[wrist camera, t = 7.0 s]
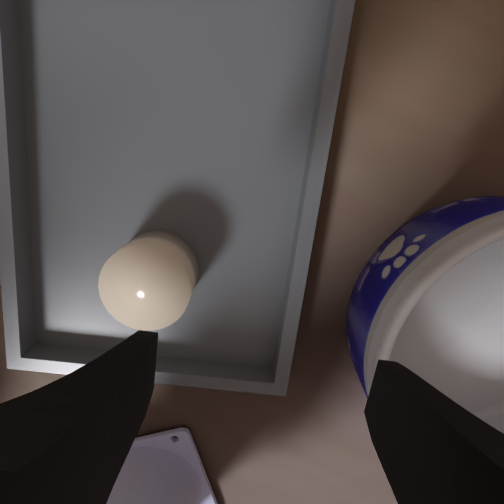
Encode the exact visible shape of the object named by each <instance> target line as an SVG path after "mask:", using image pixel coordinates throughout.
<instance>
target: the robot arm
mask: <svg viewBox="0 0 504 504" xmlns="http://www.w3.org/2000/svg"><path fill="white" fill-rule="evenodd" d="M157 344H158V332H151V331H142V330H139V331H137V332H135V333H134V334H132V335H131V336H129V337H128V338H127V339H125V340H124V341H122V342H121V343H119V344H118V345H116V346H115V347H113V348H112V349H110V350H109V351H107V352H105V353H104V354H102V355H101V356H99V357H98V358H96V359H94V360H93V361H91V362H89V363H87V364H86V365H84V366H82V367H80V368H79V369H77V370H75V371H74V372H72V373H70V374H68V375H66V376H64V377H62V378H60V379H58V380H56V381H54V382H52V383H50V384H48V385H46V386H43V387H41V388H39V389H37V390H34V391H32V392H30V393H27V394H24V395H22V396H19V397H17V398H14V399H11V400H9V401H6V402H4V403H1V404H0V504H218V503H217V500H216V498H215V495H214V493H213V490H212V487H211V485H210V482H209V480H208V477H207V474H206V472H205V469H204V467H203V464H202V461H201V459H200V456H199V454H198V451H197V448H196V446H195V443H194V441H193V438H192V435H191V433H190V431H189V430H188V429H187V428H184V427H181V428H176V429H172V430H168V431H163V432H159V433H155V434H150V435H146V436H142V437H137V438H136V435H137V433H138V431H139V429H140V426H141V424H142V422H143V420H144V417H145V415H146V412H147V409H148V405H149V402H150V399H151V396H152V392H153V389H154V381H155V369H156V356H157ZM364 413H365V417H366V421H367V425H368V429H369V432H370V436H371V439H372V442H373V445H374V447H375V450H376V452H377V455H378V457H379V460H380V462H381V464H382V467H383V469H384V472H385V474H386V476H387V479H388V481H389V483H390V486H391V488H392V490H393V493H394V495H395V498H396V500H397V502H398V504H504V433H502V432H500V431H499V430H497V429H495V428H494V427H492V426H490V425H489V424H487V423H486V422H484V421H483V420H481V419H480V418H478V417H477V416H475V415H474V414H472V413H470V412H469V411H467V410H466V409H464V408H463V407H462V406H460V405H459V404H457V403H456V402H454V401H453V400H451V399H450V398H449V397H447V396H446V395H444V394H443V393H442V392H440V391H439V390H437V389H436V388H435V387H433V386H432V385H431V384H429V383H428V382H426V381H425V380H424V379H422V378H421V377H419V376H418V375H417V374H415V373H414V372H412V371H411V370H409V369H408V368H406V367H405V366H403V365H402V364H400V363H398V362H396V361H388V360H379V359H378V362H377V366H376V370H375V374H374V377H373V381H372V385H371V388H370V392H369V396H368V400H367V403H366V407H365V411H364ZM173 436H177V437H178V438H174V437H173Z"/></svg>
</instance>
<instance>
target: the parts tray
mask: <svg viewBox="0 0 504 504" xmlns="http://www.w3.org/2000/svg"><path fill="white" fill-rule="evenodd" d="M354 6H355V0H0V281H1V295H2V308H3V321H4V335H5V348H6V362H7V369H16V370H26V371H36V372H46V373H56V374H66V375H68V374H70V373H72V372H74V371H75V370H77V369H79V368H80V367H82V366H84V365H86V364H87V363H89V362H91V361H93V360H94V359H96V358H98V357H99V356H101V355H102V354H104V353H105V352H107V351H109V350H110V349H112V348H113V347H115V346H116V345H118V344H119V343H121V342H122V341H124V340H125V339H127V338H128V337H129V336H131V335H132V334H134V333H135V332H137V331H139V330H137V329H133V328H130V327H128V326H125V325H123V324H122V323H120V322H119V321H117V320H116V319H115V318H114V317H112V316H111V315H110V313H109V312H108V311H107V310H106V308H105V307H104V305H103V303H102V301H101V298H100V295H99V289H98V281H99V275H100V272H101V269H102V267H103V266H104V264H105V263H106V261H107V260H108V259H109V258H110V257H111V256H112V255H113V254H115V253H116V252H117V251H118V250H120V249H121V248H122V247H123V246H125V245H126V244H127V243H129V242H130V241H131V240H132V239H134V238H135V237H136V236H138V235H140V234H142V233H145V232H149V231H156V230H158V231H166V232H170V233H173V234H175V235H177V236H179V237H181V238H182V239H183V240H185V241H186V242H187V243H188V244H189V245H190V246H191V248H192V249H193V251H194V253H195V254H196V257H197V260H198V264H199V275H198V280H197V283H196V285H195V288H194V290H193V293H192V295H191V298H190V301H189V303H188V306H187V308H186V310H185V311H184V313H183V314H182V316H181V317H180V318H179V319H178V320H177V321H176V322H174V323H173V324H171V325H169V326H167V327H165V328H162V329H159V330H153V331H151V332H158V344H157V356H156V369H155V381H154V383H156V384H166V385H176V386H186V387H195V388H205V389H215V390H225V391H235V392H245V393H255V394H265V395H275V396H285V397H286V394H287V388H288V382H289V377H290V371H291V365H292V360H293V354H294V348H295V342H296V337H297V331H298V325H299V320H300V314H301V308H302V303H303V297H304V291H305V285H306V280H307V274H308V268H309V263H310V257H311V251H312V246H313V240H314V234H315V228H316V223H317V217H318V211H319V206H320V200H321V194H322V189H323V183H324V177H325V171H326V166H327V160H328V154H329V149H330V143H331V137H332V132H333V126H334V120H335V114H336V109H337V103H338V97H339V92H340V86H341V80H342V75H343V69H344V63H345V57H346V52H347V46H348V40H349V35H350V29H351V23H352V18H353V12H354Z"/></svg>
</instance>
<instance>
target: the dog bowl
mask: <svg viewBox="0 0 504 504" xmlns="http://www.w3.org/2000/svg"><path fill="white" fill-rule="evenodd" d="M346 334H347V342H348V348H349V352H350V356H351V359H352V361H353V364H354V367H355V370H356V372H357V374H358V377H359V379H360V382H361V384H362V387H363V389H364V391H365V394H366V396H367V398H368V396H369V392H370V388H371V385H372V381H373V377H374V374H375V370H376V366H377V362H378V359H379V360H388V361H396V362H398V363H400V364H402V365H403V366H405V367H406V368H408V369H409V370H411V371H412V372H414V373H415V374H417V375H418V376H419V377H421V378H422V379H424V380H425V381H426V382H428V383H429V384H431V385H432V386H433V387H435V388H436V389H437V390H439V391H440V392H442V393H443V394H444V395H446V396H447V397H449V398H450V399H451V400H453V401H454V402H456V403H457V404H459V405H460V406H462V407H463V408H464V409H466V410H467V411H469V412H470V413H472V414H474V415H475V416H477V417H478V418H480V419H481V420H483V421H484V422H486V423H487V424H489V425H490V426H492V427H494V428H495V429H497V430H499V431H500V432H502V433H504V197H498V196H483V197H473V198H467V199H461V200H457V201H453V202H450V203H447V204H444V205H441V206H439V207H436V208H433V209H431V210H429V211H427V212H425V213H423V214H421V215H419V216H417V217H416V218H414V219H412V220H411V221H409V222H408V223H406V224H405V225H404V226H402V227H401V228H400V229H398V230H397V231H396V232H395V233H393V234H392V235H391V236H390V237H389V238H388V239H387V240H386V241H385V242H384V243H383V244H382V245H381V246H380V247H379V248H378V249H377V250H376V252H375V253H374V254H373V255H372V257H371V258H370V259H369V261H368V262H367V264H366V265H365V267H364V268H363V270H362V272H361V274H360V275H359V278H358V280H357V282H356V284H355V286H354V289H353V292H352V295H351V298H350V302H349V306H348V312H347V320H346Z"/></svg>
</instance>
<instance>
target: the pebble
mask: <svg viewBox="0 0 504 504" xmlns="http://www.w3.org/2000/svg"><path fill="white" fill-rule="evenodd" d="M198 275H199V264H198V260H197V257H196V254H195V253H194V251H193V249H192V248H191V246H190V245H189V244H188V243H187V242H186V241H185V240H183V239H182V238H181V237H179V236H177V235H175V234H173V233H170V232H166V231H158V230H156V231H149V232H145V233H142V234H140V235H138V236H136V237H135V238H134V239H132V240H131V241H130V242H129V243H127V244H126V245H125V246H123V247H122V248H121V249H120V250H118V251H117V252H116V253H115V254H113V255H112V256H111V257H110V258H109V259H108V260H107V261H106V263H105V264H104V266H103V267H102V269H101V272H100V275H99V281H98V289H99V295H100V298H101V301H102V303H103V305H104V307H105V308H106V310H107V311H108V312H109V313H110V315H111V316H112V317H114V318H115V319H116V320H117V321H119V322H120V323H122V324H123V325H125V326H128V327H130V328H133V329H137V330H142V331H153V330H159V329H162V328H165V327H167V326H169V325H171V324H173V323H174V322H176V321H177V320H178V319H179V318H180V317H181V316H182V314H183V313H184V311H185V310H186V308H187V306H188V303H189V301H190V298H191V295H192V293H193V290H194V288H195V285H196V283H197V280H198Z"/></svg>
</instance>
